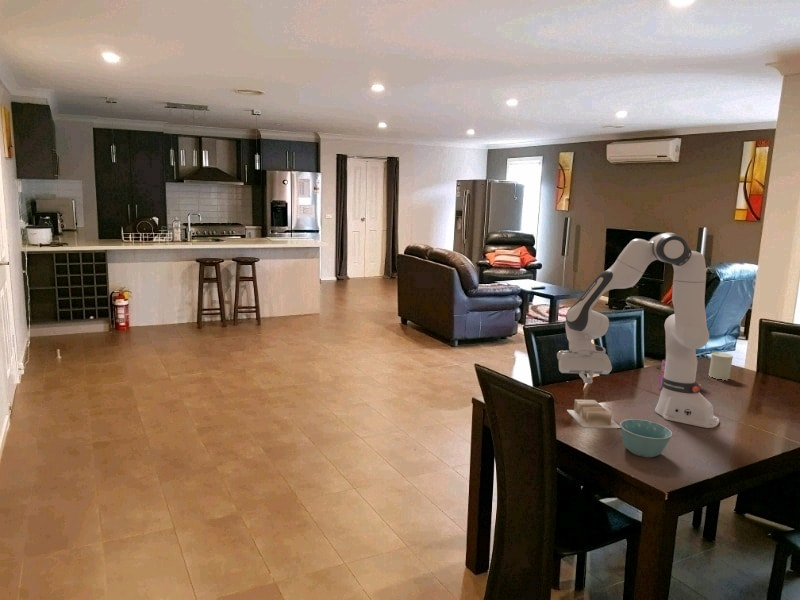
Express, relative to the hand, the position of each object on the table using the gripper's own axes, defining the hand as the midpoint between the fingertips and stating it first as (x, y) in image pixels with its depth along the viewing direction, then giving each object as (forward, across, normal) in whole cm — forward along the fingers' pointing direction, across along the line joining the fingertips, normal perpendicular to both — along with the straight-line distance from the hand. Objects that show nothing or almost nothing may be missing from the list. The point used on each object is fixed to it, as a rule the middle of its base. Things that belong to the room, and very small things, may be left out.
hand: (588, 382), depth 225 cm
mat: (+14, 0, +3) cm, 14 cm away
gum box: (-17, +56, +34) cm, 68 cm away
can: (-29, +87, +46) cm, 102 cm away
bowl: (+34, +6, -17) cm, 38 cm away
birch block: (+5, 0, +8) cm, 10 cm away
